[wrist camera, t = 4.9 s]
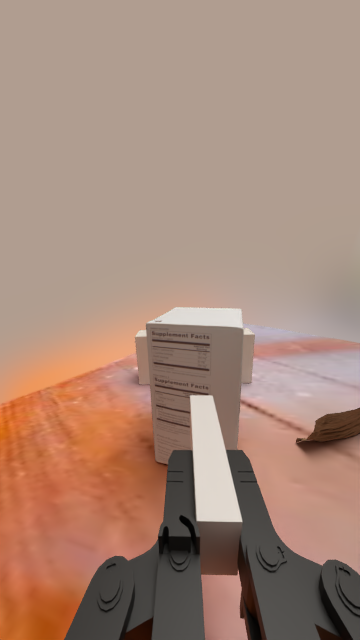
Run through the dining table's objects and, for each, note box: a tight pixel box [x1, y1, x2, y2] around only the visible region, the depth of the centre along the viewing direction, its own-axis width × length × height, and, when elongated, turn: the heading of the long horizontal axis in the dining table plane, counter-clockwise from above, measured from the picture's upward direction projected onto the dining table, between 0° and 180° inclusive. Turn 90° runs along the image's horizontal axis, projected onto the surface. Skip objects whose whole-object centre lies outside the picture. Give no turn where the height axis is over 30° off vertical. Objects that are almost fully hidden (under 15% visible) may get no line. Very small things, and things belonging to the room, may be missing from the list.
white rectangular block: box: [135, 328, 255, 384], centre depth 38 cm, size 4×22×10 cm, turn 89°
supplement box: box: [146, 307, 244, 464], centre depth 23 cm, size 10×9×17 cm
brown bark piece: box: [296, 408, 360, 442], centre depth 24 cm, size 15×2×5 cm, turn 108°
